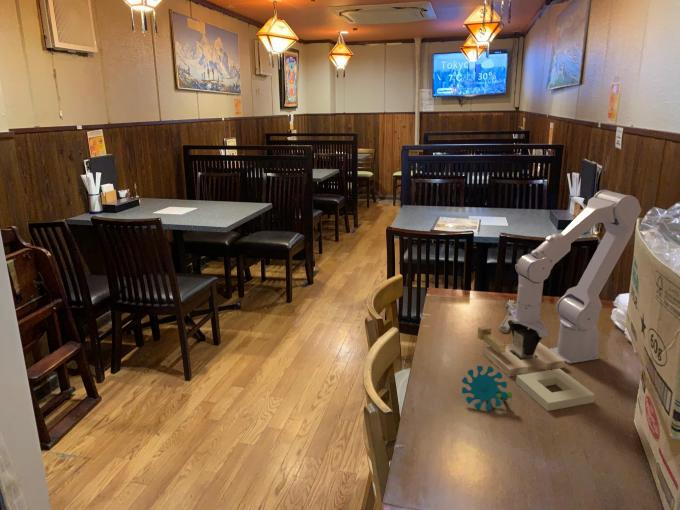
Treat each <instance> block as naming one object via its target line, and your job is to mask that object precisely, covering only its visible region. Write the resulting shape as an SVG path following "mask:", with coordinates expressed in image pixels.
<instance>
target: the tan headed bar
mask: <svg viewBox="0 0 680 510" xmlns="http://www.w3.org/2000/svg"><path fill="white" fill-rule="evenodd" d="M477 338H478V340H479V341H483V342H484V343H485V344H487V345H488V347H492V348H493V349H494V350H495V351H496V352H498V353H503V352H505V351H506V345H505V344H506V343H504V342H502V341H501V340H500V339H499V338H497V337H496V336H495V335H494V334H493V333H492V327H490V326H489V325H487V326H485V325H484V326H478V327H477Z"/></svg>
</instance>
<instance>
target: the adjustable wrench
mask: <svg viewBox="0 0 680 510" xmlns="http://www.w3.org/2000/svg"><path fill="white" fill-rule="evenodd" d="M504 306H505V308H506V309H508V308H511V307H515V308H516V306H517V303H515V301H514V300H513V299H511V300H508V301H507V303H505V305H504ZM512 318H513V316H509V315H507V314H506V315H505V317H504V318H503V321H501V324H500V325H499V327H498V328H499V329H498V331H499V333H504V334H506V333H508V332H509V331H510V330H511V328H510V326H509V324H508V321H509V320H512Z"/></svg>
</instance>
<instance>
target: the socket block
mask: <svg viewBox="0 0 680 510" xmlns="http://www.w3.org/2000/svg"><path fill="white" fill-rule="evenodd" d="M504 344H505V345H506V351H505V352H503V353H498V352H496V351H495V350H494V349H493V348H492V347H490V346H486V347H483V355H484V356H485V357H486V358H487V359H488V360H489V361H490V362H492V363H493V364H494V365H495V366H496V367H497V368H498V369H500V370H501V371H502V372H503V373H504V374H505V375H506V376H507V377H516V376H517V375H523V374H529V373H535V372H541V371H547V370H551V369H552V370H553V369H559V368H560V369H563V368H565V365H566V362H565V360H564V359H562V358H561V357H560V356H558V355H557V354H555V353H554V352H553V351H551V350H550V348H548V347H547V346H546V345H545V344H542V343H541V342H539V343H538V345H537V347H536V351H535V358H531V359H524V360H520V359H519V358H517V357H516V356H515V355H514V354H512V349H513V342H512V343H507V344H506V343H504Z"/></svg>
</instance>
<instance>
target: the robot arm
mask: <svg viewBox="0 0 680 510" xmlns="http://www.w3.org/2000/svg"><path fill="white" fill-rule="evenodd" d="M641 212H642V208H641V205H640V202H639V200H638V199H637V197H635V196H633V195H631V194H629V195H627V194H623V193H619V192H615V191H611V190H608V189H601V190H599V191H597V192H596V193H595V194H594V195H593V197H591V198H589V199H588V200H587V205H586V207H585V208H583V210H582V211H581V212H580V213H579V214H578V215H577V216H576V217H575V218H573V220H572V221H571V222H570V223H569V224H568V225H567V226H566V227H565V229H564V230H562V232H560V233H552V234H551V235H548V236H547V237H546V238H545V239H544V240H545V241H543V242H542V243H540V245H538V247H536V248H535V249H533V250H532V251H531V252H530V253H527V254H524V255H522V256H521V257H520V258H519V259H518V261H517V263H516V264H515V265H514V268H515V271H516V272H517V274H518V278H517V279H518V286H517V296H516V297H517V298H516V304H517V306H516V308H515V307H511V308H507V310H506V311H507V312H506V313H507V314H506V316H507V315H509V316H513V318H512V320H509V321H508V324H509V326H510V332H511V334H512V339H514V331H515V330H522V329H529V330H522V334H523V337H524V343H525V346H524V352H525V355H526V356H529V355H533V354H534V352H535V349H536V347H537V345H538V343H539V342H540V341H541V340H543V338H547V337H548V336H549V329H548V327H546V325H544V322H543V321H542V320H541V318H540V314H541V308H542V299H543V298H542V297H543V289H544V281H545V280H547V279H548V278H549V276H550V274H551V270H552V269H553V267H554V266H555V264H556V263H558V262H559V261H560V260H562V258H563V257H565V256H566V255H567V254H568V253H569V252H570V251H571V247H572V245H571V244H572V243H574V242H575V241H576V240H577V239H579V238H580V237H582V236H583V235H584V234H585V233H587V232H588V231H589V230H590V229H592V228H593V227H594V226H595V225H597V224H603V226H604V228H605V232H604V235H603V237H602V238H601V241H600V243H599V244H598V246H597V248H596V250H595V252H594V253H593V255H592V258H591V259H590V261H589V263H588V264H587V267H586V268H585V270H584V272H583V274H582V276H581V278H580V280H579V281H578V283H577V285H576V286H572V287H569V288H568V289H567V290H566V292H565V293H564V295H562V296H561V297H560V298H559V300H557V303H556V305H555V310H556V313H557V314H558V315H559V320H560V324H559V330H558V340H557V345H556V346H557V347H551V348H549V349H550V350H551V351H553V352H554V353H555V354H557V355H558V356H560V357H561V358H562V359H564V360H565V363H567V364H575V363H582V362H588V361H593V360H599V358H600V357H599V356H598V349H599V343H600V336H601V335H600V330H599V327H597V324H598V322H599V318H600V314H601V313H600V312H601V310H602V308H603V304H602V301H601V299H600V296H599V295H600V293H601V291H603V289H604V286H605V284H606V282H607V281H608V279H609V277H610V275H611V274H612V272H613V270H614V268H615V267H616V264H617V263H618V261H619V259H620V257H621V255H622V254H623V252H624V250H625V248H626V246H628V242H629V241H630V240H631V237H632V236H633V233H634V229H635V224H636V222H637V220H638V218H639V216H640V215H641ZM540 343H541V342H540Z"/></svg>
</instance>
